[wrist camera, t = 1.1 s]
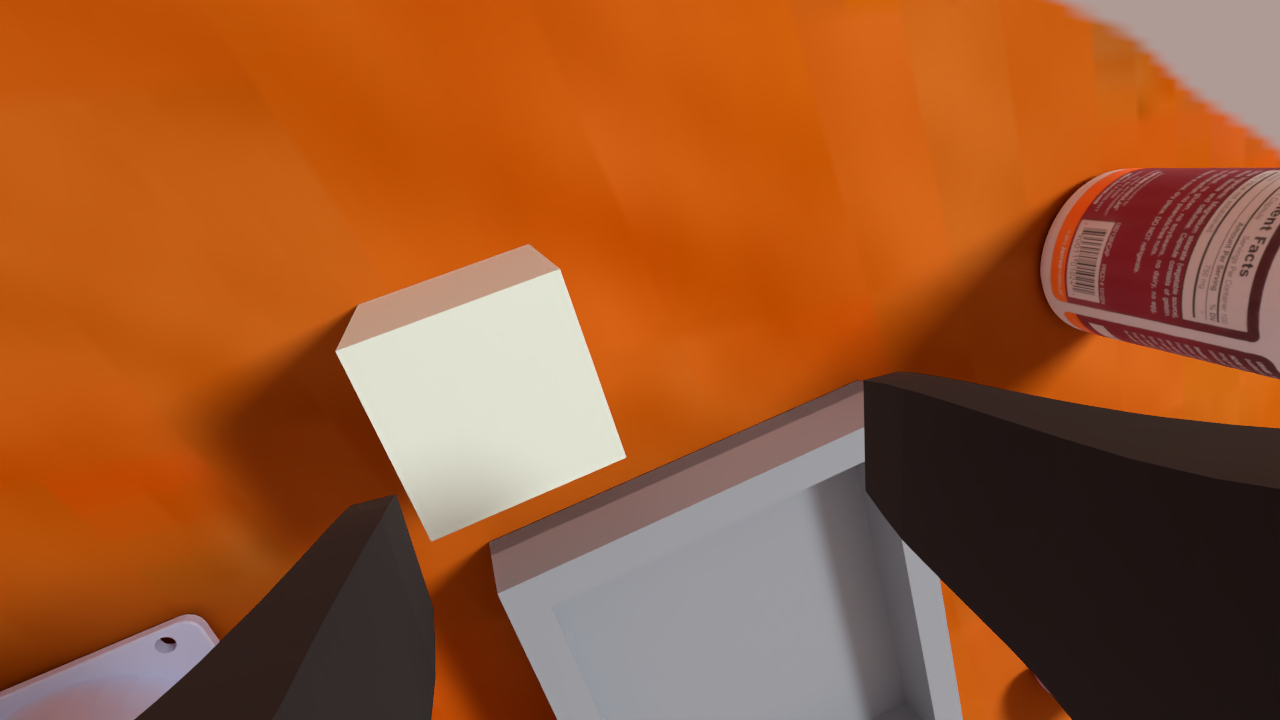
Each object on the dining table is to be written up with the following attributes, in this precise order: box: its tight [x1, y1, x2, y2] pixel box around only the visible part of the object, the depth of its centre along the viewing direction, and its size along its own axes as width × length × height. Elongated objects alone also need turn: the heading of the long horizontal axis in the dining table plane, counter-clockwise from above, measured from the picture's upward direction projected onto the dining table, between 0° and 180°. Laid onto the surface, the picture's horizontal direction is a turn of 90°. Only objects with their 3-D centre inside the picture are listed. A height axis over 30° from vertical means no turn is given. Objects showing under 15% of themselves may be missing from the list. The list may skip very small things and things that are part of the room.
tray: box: [489, 380, 963, 720], centre depth 24 cm, size 14×16×3 cm
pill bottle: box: [1040, 168, 1280, 379], centre depth 21 cm, size 6×6×11 cm
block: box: [335, 244, 626, 542], centre depth 17 cm, size 5×5×5 cm
